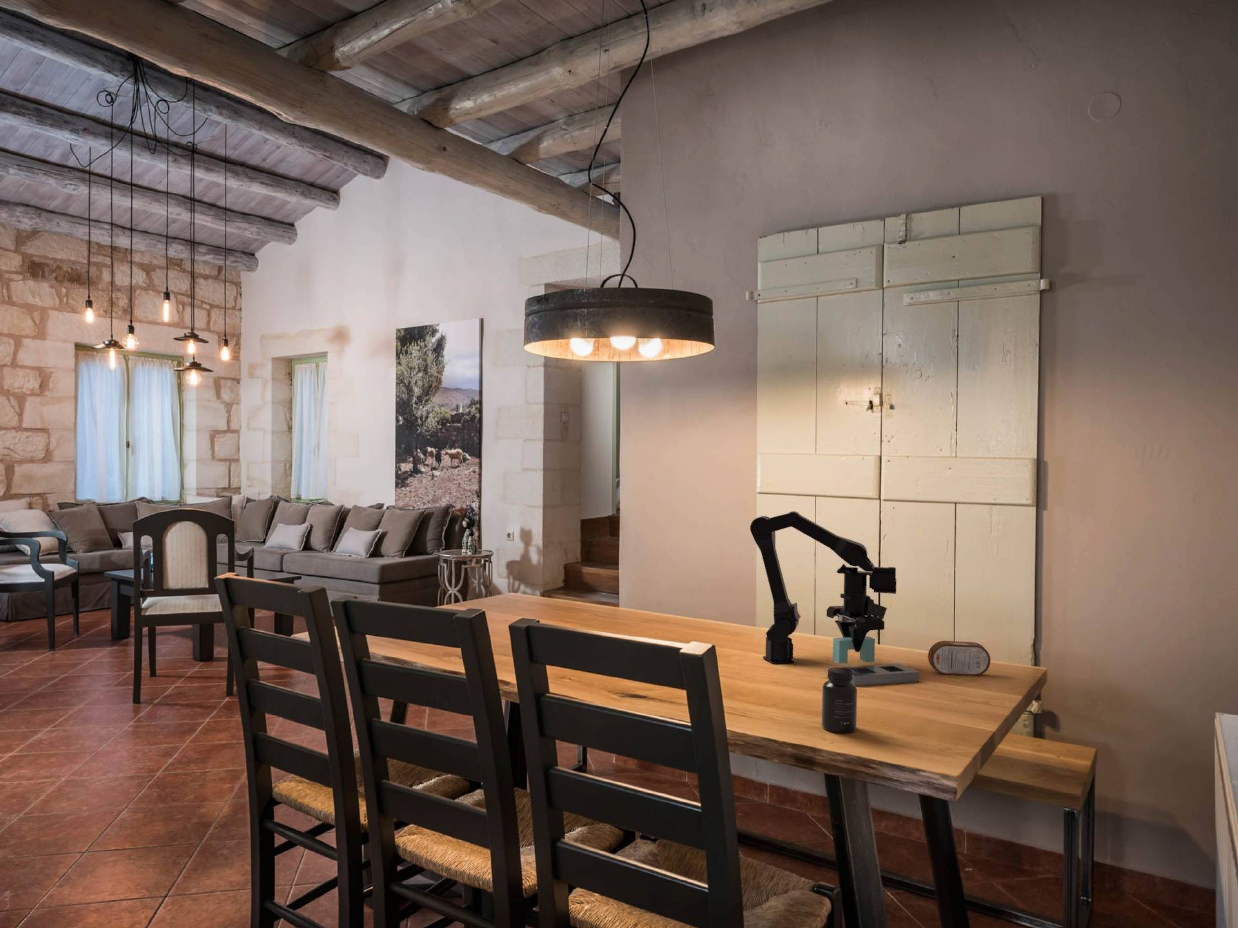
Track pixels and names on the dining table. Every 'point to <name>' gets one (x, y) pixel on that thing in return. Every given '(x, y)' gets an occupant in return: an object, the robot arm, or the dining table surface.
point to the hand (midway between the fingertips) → (853, 650)
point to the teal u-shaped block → (846, 644)
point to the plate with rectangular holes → (883, 674)
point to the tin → (959, 658)
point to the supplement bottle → (839, 701)
